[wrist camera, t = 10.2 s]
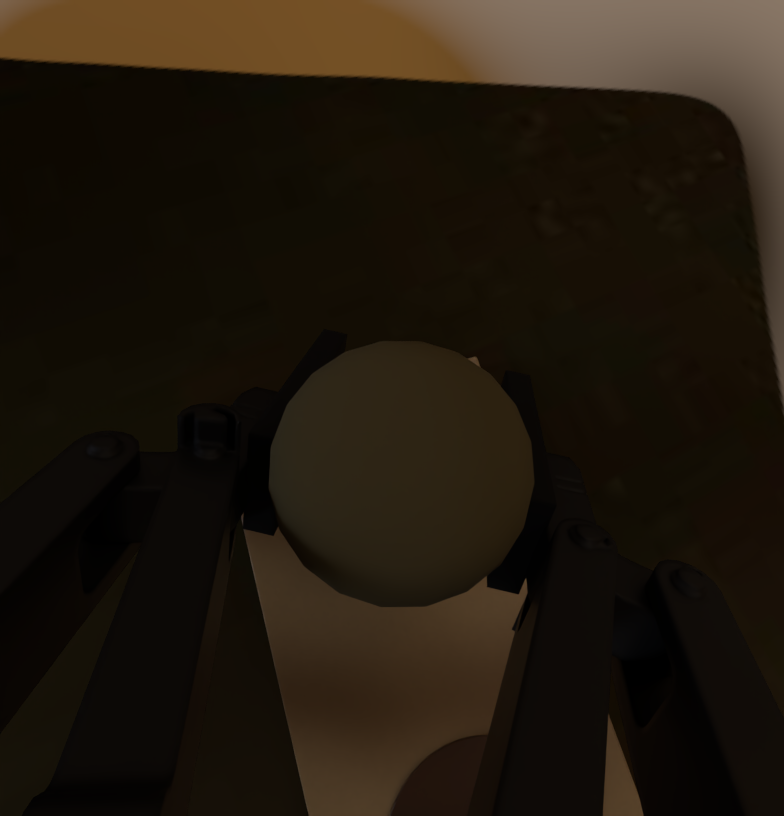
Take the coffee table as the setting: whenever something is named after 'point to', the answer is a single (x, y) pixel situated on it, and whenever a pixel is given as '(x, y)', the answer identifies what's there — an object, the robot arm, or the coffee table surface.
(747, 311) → the coffee table surface
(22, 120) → the coffee table surface
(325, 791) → the beech board
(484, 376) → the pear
